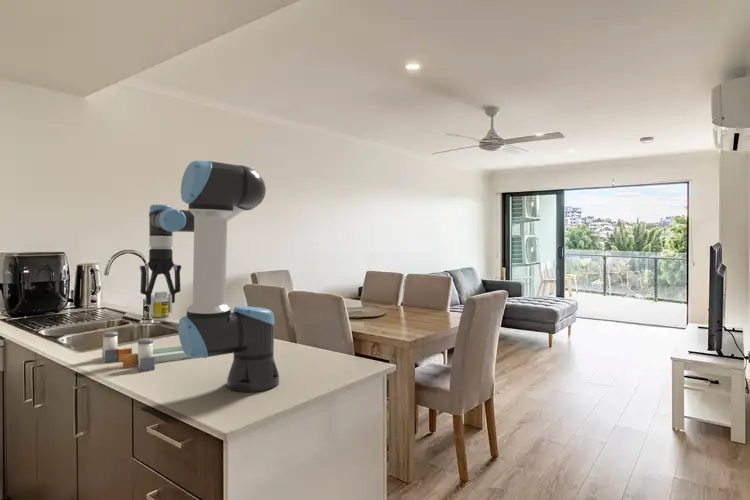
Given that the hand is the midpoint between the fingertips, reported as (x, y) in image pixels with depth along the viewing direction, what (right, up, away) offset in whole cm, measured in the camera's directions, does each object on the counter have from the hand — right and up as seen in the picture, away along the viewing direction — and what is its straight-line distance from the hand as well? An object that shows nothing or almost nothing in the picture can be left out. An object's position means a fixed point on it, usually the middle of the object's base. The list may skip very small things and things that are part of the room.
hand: (160, 312), depth 163 cm
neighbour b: (-17, -16, -2) cm, 24 cm away
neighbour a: (0, -17, -11) cm, 20 cm away
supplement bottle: (0, -3, 0) cm, 3 cm away
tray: (+2, -16, +3) cm, 17 cm away
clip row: (-9, -16, -6) cm, 20 cm away
